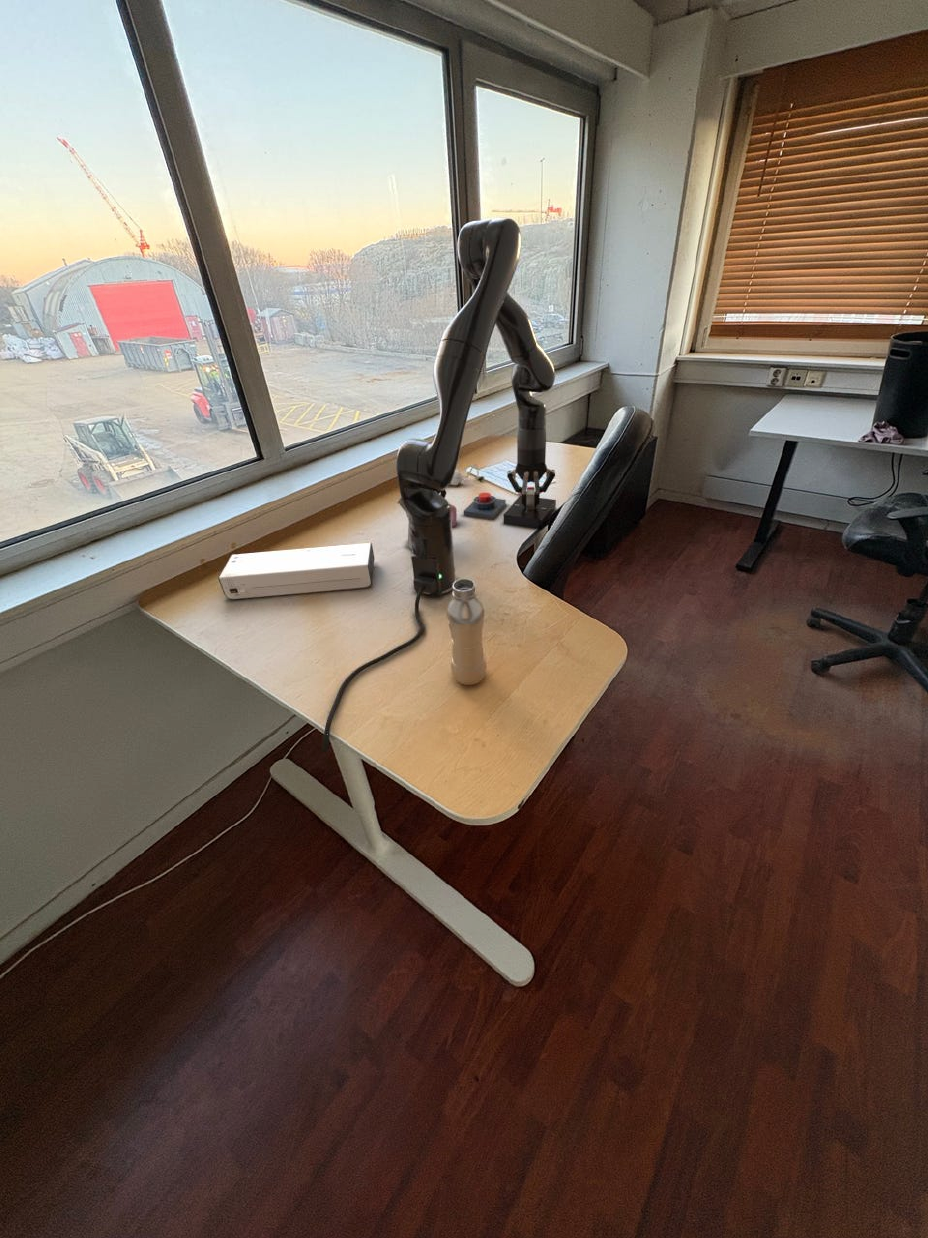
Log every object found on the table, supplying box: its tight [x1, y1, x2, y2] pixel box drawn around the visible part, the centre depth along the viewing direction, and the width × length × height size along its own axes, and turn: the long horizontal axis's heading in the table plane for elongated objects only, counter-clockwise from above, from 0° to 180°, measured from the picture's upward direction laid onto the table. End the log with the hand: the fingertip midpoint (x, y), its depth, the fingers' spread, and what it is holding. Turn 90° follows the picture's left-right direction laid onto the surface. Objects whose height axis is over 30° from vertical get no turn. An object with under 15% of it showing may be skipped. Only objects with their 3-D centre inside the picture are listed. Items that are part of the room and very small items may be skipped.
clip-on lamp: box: [449, 463, 485, 486], centre depth 169 cm, size 12×6×18 cm
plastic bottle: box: [446, 578, 488, 686], centre depth 86 cm, size 6×7×20 cm
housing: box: [463, 495, 507, 521], centre depth 149 cm, size 11×9×4 cm
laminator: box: [217, 542, 375, 601], centre depth 120 cm, size 34×12×6 cm, turn 95°
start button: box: [478, 492, 492, 502], centre depth 148 cm, size 4×4×2 cm
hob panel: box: [503, 495, 557, 530], centre depth 144 cm, size 14×11×3 cm
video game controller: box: [449, 502, 458, 528], centre depth 143 cm, size 10×5×7 cm, turn 84°
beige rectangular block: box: [526, 486, 535, 510], centre depth 142 cm, size 5×2×5 cm, turn 174°
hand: (530, 505), depth 143 cm, fingers closed on beige rectangular block, 2 cm apart
